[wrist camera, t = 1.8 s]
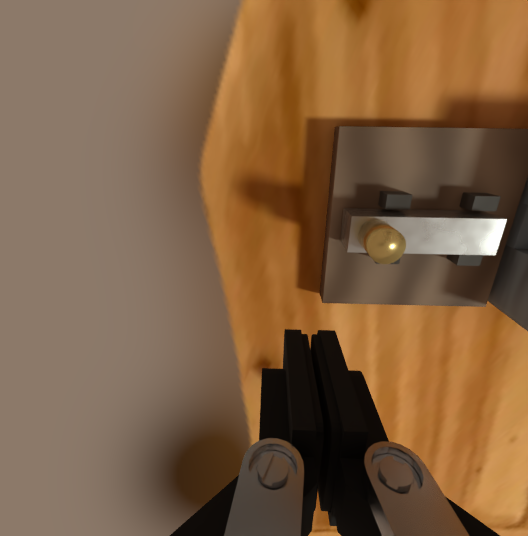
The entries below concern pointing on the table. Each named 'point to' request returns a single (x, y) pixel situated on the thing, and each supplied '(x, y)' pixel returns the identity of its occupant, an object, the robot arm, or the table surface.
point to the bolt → (420, 232)
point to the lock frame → (430, 198)
